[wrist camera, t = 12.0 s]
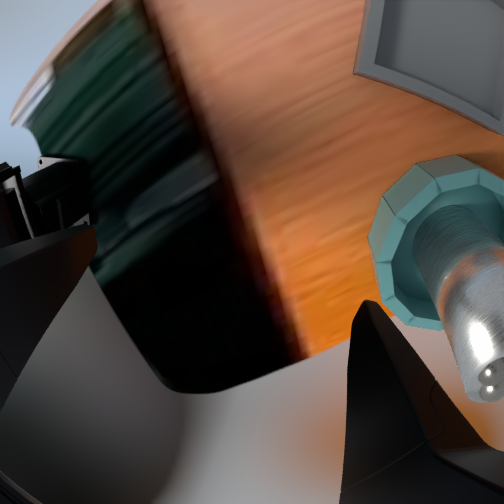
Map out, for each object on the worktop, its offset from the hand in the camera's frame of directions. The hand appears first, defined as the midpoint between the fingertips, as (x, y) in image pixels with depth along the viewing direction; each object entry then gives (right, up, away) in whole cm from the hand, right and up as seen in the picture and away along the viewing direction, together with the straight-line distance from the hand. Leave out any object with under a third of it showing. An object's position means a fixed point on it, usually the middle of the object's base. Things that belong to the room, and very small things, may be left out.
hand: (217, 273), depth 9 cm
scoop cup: (+16, +1, +10) cm, 19 cm away
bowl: (+16, +2, +11) cm, 20 cm away
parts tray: (+14, +15, +4) cm, 21 cm away
